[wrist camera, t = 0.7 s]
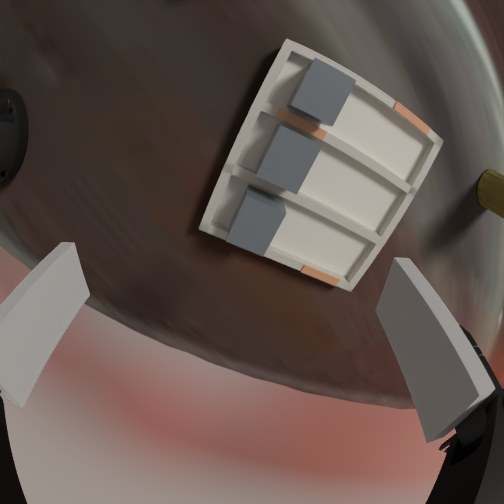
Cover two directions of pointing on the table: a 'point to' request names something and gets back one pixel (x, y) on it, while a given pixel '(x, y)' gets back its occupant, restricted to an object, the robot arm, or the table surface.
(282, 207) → the slider
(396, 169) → the switch board
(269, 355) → the table surface
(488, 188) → the vase
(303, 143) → the slider
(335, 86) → the slider
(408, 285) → the robot arm
